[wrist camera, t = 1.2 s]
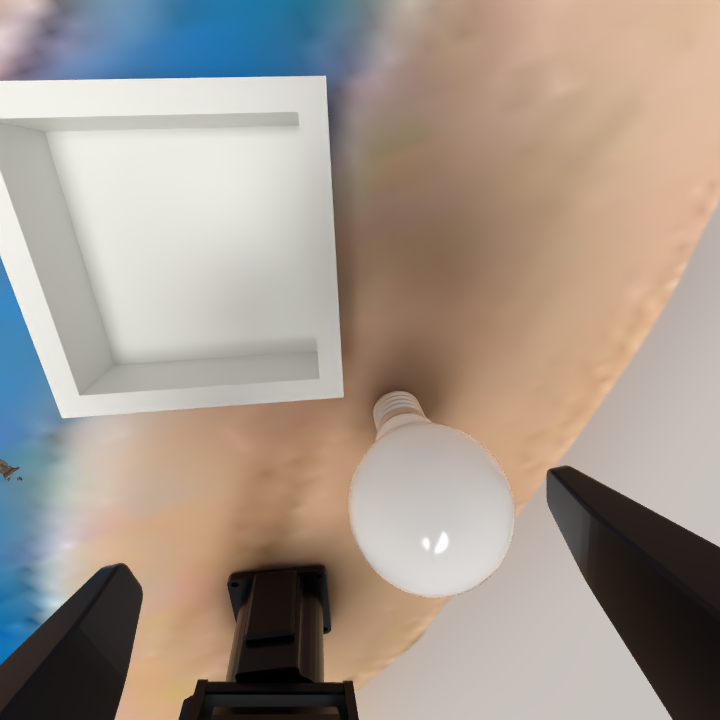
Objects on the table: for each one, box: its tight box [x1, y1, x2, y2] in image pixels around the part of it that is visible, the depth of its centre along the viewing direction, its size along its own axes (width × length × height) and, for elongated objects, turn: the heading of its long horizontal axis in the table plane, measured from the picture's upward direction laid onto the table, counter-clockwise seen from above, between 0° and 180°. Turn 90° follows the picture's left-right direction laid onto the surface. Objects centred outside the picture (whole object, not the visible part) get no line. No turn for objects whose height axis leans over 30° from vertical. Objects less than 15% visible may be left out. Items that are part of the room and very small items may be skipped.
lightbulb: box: [348, 391, 515, 598], centre depth 18 cm, size 6×6×11 cm
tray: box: [0, 76, 344, 418], centre depth 17 cm, size 12×12×4 cm
